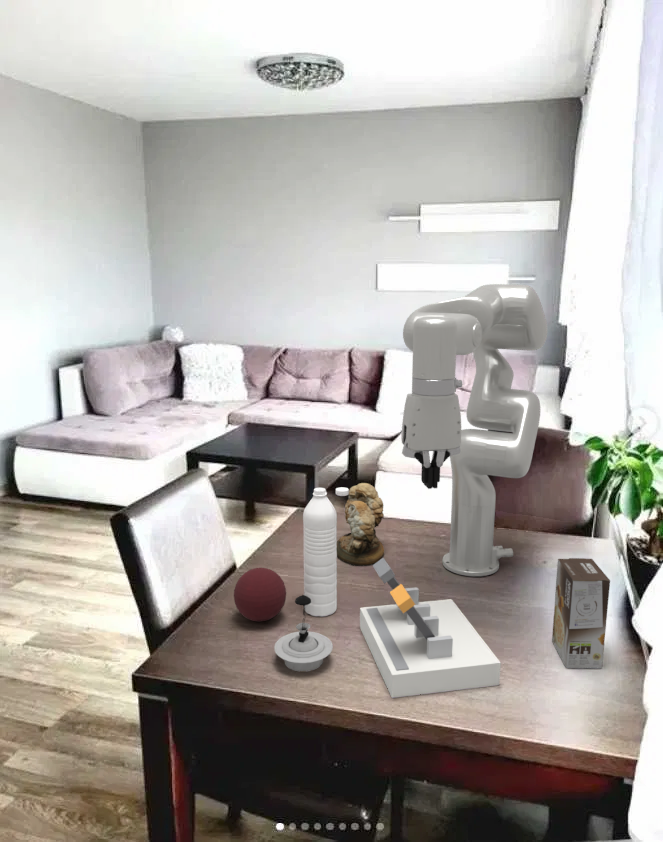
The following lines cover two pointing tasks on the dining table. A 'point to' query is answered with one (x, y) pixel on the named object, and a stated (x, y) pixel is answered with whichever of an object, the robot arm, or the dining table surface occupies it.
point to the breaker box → (427, 649)
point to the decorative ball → (259, 594)
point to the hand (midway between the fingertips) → (430, 486)
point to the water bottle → (321, 553)
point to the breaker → (386, 573)
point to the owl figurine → (362, 527)
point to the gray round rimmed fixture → (303, 645)
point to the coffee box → (580, 612)
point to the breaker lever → (410, 610)
